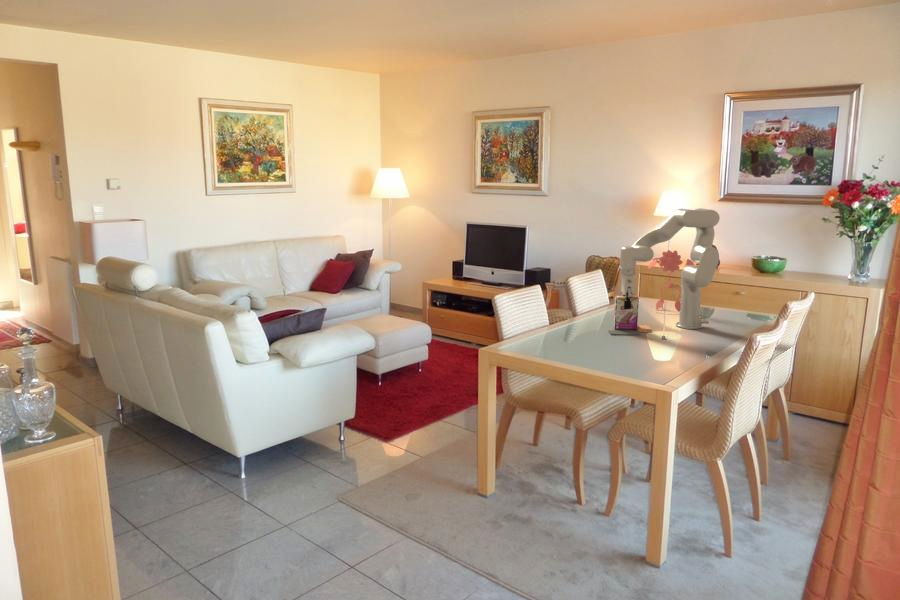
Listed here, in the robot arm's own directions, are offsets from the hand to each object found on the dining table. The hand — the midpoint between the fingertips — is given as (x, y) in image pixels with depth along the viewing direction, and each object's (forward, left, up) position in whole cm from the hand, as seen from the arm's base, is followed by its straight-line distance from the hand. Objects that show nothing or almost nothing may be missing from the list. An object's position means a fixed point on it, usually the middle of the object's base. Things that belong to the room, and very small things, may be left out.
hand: (626, 307), depth 329 cm
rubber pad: (+2, +8, -12) cm, 14 cm away
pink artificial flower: (-32, -44, -12) cm, 56 cm away
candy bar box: (0, 0, -11) cm, 11 cm away
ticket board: (-9, 0, -12) cm, 15 cm away
